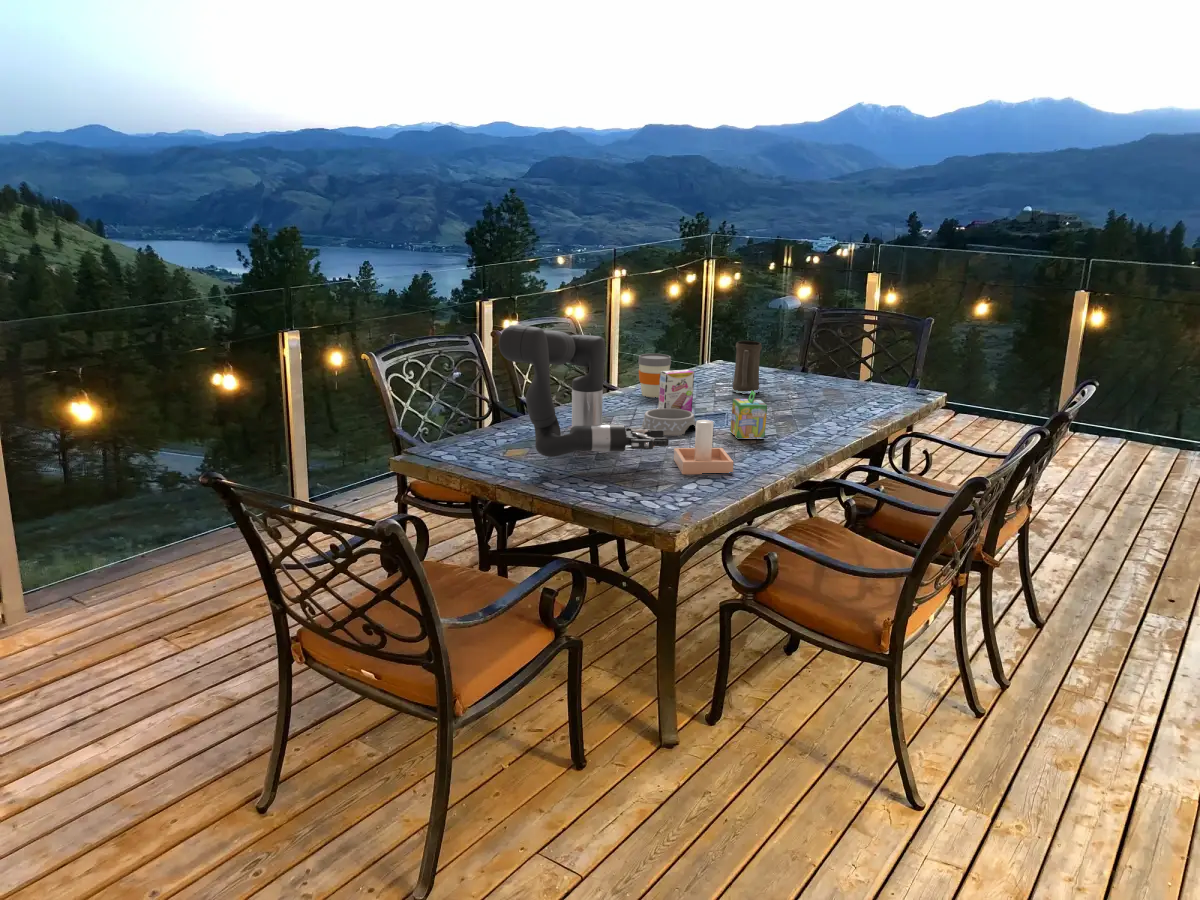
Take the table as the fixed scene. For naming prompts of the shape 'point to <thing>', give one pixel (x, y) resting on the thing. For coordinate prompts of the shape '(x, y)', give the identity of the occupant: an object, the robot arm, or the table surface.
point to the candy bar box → (676, 389)
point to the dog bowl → (669, 420)
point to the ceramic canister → (703, 440)
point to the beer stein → (747, 366)
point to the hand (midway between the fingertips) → (665, 437)
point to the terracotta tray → (689, 466)
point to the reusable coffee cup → (652, 372)
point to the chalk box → (748, 417)
